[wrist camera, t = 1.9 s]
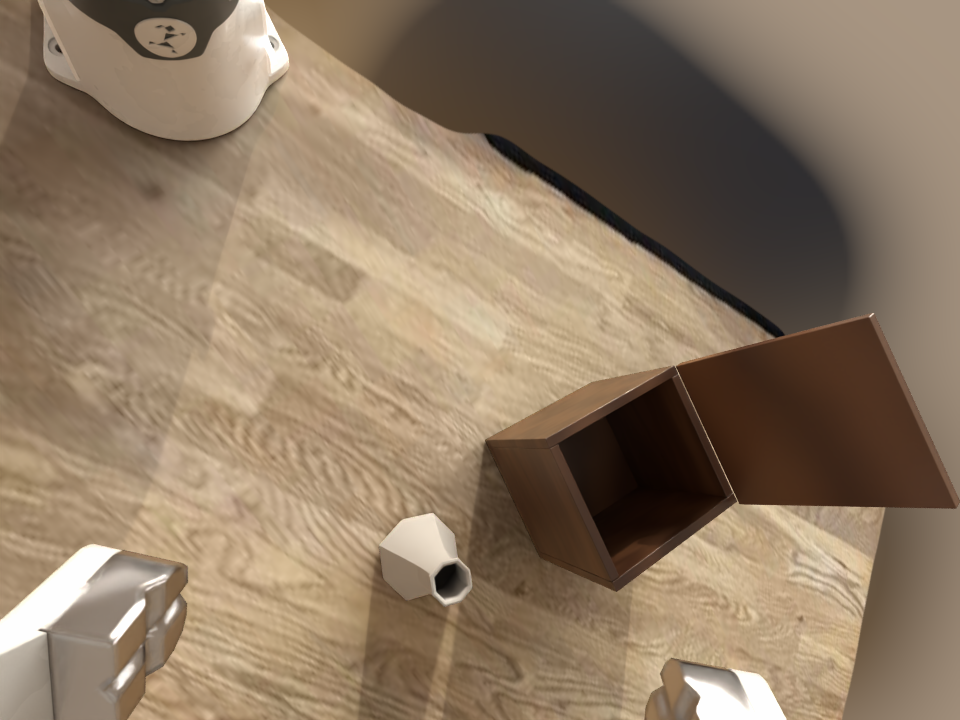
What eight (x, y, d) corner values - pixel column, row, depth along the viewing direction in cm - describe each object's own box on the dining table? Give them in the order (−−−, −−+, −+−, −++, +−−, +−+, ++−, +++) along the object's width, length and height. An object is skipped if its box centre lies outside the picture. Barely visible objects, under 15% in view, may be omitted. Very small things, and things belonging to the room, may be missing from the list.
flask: (400, 615, 46) (430, 658, 37) (364, 540, 46) (384, 565, 37) (470, 568, 49) (514, 598, 40) (436, 498, 49) (471, 511, 39)
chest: (539, 557, 51) (616, 592, 39) (484, 439, 51) (545, 438, 39) (642, 489, 56) (737, 501, 44) (592, 381, 56) (674, 365, 44)
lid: (956, 509, 32) (960, 501, 32) (869, 316, 31) (874, 312, 32) (739, 504, 44) (744, 499, 44) (675, 366, 44) (681, 362, 44)
